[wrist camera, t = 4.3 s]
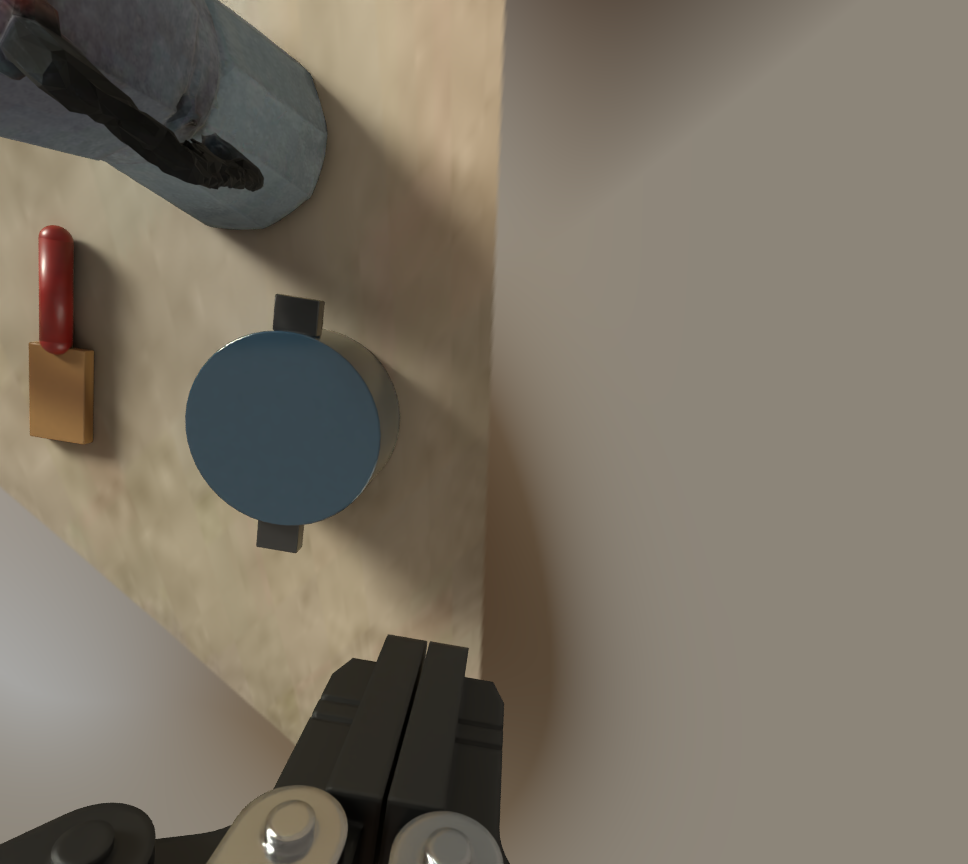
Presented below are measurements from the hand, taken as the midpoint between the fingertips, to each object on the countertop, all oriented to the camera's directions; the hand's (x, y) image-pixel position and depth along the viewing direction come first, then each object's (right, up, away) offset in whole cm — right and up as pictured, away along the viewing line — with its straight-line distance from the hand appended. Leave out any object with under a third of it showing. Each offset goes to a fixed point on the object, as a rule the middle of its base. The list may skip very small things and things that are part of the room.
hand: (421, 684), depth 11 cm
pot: (-8, +5, +20) cm, 22 cm away
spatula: (-21, +10, +20) cm, 30 cm away
